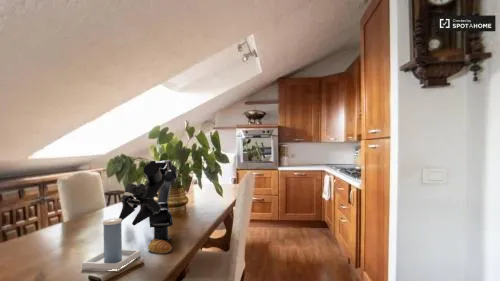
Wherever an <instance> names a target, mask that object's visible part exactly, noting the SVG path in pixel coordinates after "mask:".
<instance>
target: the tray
mask: <svg viewBox="0 0 500 281" xmlns="http://www.w3.org/2000/svg"><path fill="white" fill-rule="evenodd" d="M141 251H142V250H141V249H140V250H139V249H123V248H122V260H121V261H119V262H117V263H104V250H103V251H101V252H100V253H97V254H96V255H94V256H92V257H90V258H88V259H86V260H84V261H82V262H81V271H90V272H91V271H92V272H93V271H94V272H105V271H108V270H112V269H117V270H118V269H120V268H121V267H122V266H124V265H126V264H127V263H129V262H130V261H131V260H133V259H135V258H137V257H140V258H141Z"/></svg>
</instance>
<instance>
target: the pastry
mask: <svg viewBox="0 0 500 281" xmlns="http://www.w3.org/2000/svg"><path fill="white" fill-rule="evenodd" d="M152 240H153V239H152ZM147 248H148V251H149V252H152V253H153V254H154V253H155V254H167V253H169V252H171V251H172V248H173V247H172V245H171V243H169V242H168V241H167V242H166V241H163V240H158V239H155V240H153V241H152V242H151V241H150V242H149V244H148V247H147Z"/></svg>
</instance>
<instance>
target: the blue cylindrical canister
mask: <svg viewBox="0 0 500 281" xmlns="http://www.w3.org/2000/svg"><path fill="white" fill-rule="evenodd" d="M122 222H123V220H122V219H121V218H119V217H117V218H116V217H115V218H114V217H113V218H108V219H104V220H102V225H103V251H104V263H117V262H119V261H121V260H122V249H123V245H122V243H123V242H122V241H123V240H122Z"/></svg>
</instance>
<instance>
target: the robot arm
mask: <svg viewBox="0 0 500 281" xmlns="http://www.w3.org/2000/svg"><path fill="white" fill-rule="evenodd" d="M143 174H144V176H145V178H146V181H147V182H146V183H145V184H144V183H142V182H139V183H137V184H135V183H127V184H126V187H125V189H124V192H125V193H129V194H123V195H122V196H121V197H120V200H121V203H122V208H121V211H120V214H119V217H118V218H121V219H122V221H123V220H125V219H126V218H128V216H130V215H131V214H132V213H134V212H135V211H136V209H137V208H138V207H139V206H140V208H139V211H138V212H137V214H136V216H135V217H134V218H133V221H132V223H131V225H133V226H136V225H137V224H138V225H139V223H141V222H143V221H144V220H146V219H149V220H148V221H149V227H150V228H154V229H153V239H152V240H150V242H152V241H153V240H155V239H158V240H163V241H166V242H168V241H170V240H171V239H172V238H173V237H172V236H169V227H170V228H171V227H172V226H174V219H173V215H172V212H171V211H170V206H169V200H170V194H171V189H172V186H173V185H175V184H176V180H177V179H178V170H177V167H176V166H175V165H174V164H173V162H172V160H168V159H167V160H166V159H165V160H158V161H157V160H150V161H149V163H148V164H146V165H144V167H143ZM158 193H159V194H158ZM155 198H158V200H157V201H156V199H155Z"/></svg>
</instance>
